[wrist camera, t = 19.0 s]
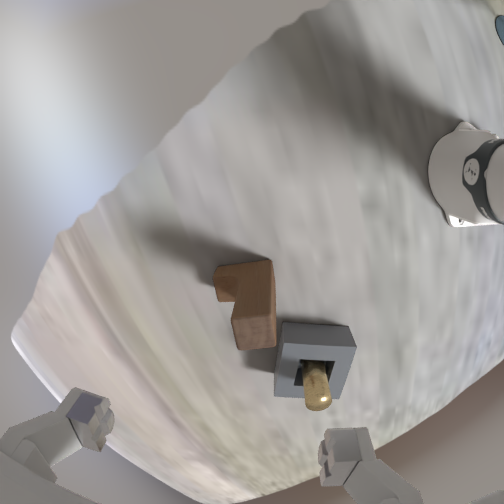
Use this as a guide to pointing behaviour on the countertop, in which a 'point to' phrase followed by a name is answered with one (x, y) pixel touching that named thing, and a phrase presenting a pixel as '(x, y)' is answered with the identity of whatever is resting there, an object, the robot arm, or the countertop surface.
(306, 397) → the brass pin
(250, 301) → the wooden block
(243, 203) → the countertop surface
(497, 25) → the cocktail glass
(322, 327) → the hole holder
